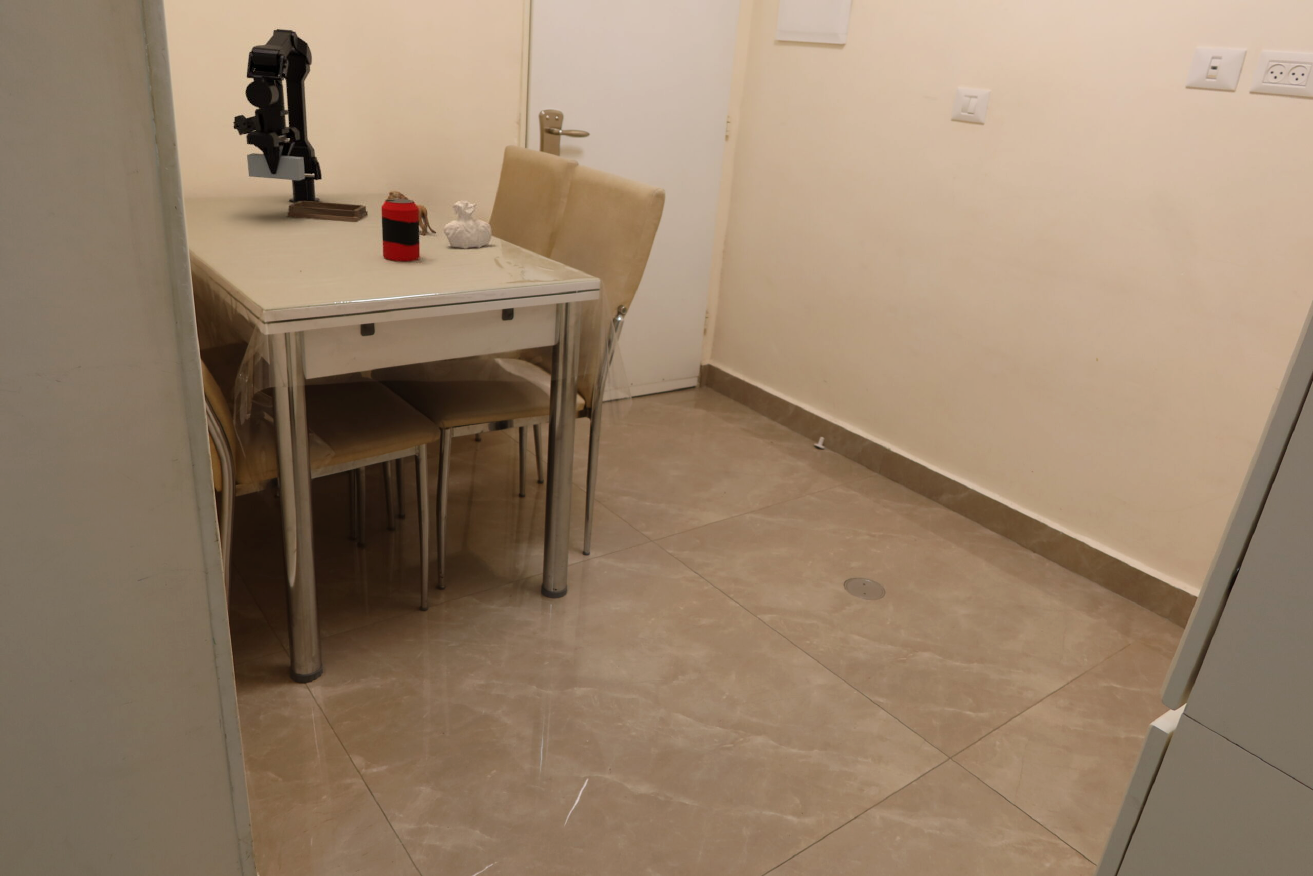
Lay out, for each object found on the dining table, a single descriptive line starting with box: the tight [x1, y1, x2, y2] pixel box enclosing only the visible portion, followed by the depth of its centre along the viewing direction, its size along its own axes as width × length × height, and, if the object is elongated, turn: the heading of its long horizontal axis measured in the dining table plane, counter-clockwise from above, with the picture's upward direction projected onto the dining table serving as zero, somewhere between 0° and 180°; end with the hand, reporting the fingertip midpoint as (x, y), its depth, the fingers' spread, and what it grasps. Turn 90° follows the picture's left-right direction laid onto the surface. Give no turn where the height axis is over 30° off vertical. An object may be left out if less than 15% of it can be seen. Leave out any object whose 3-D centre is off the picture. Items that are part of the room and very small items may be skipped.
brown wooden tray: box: [286, 201, 368, 223], centre depth 232 cm, size 11×17×2 cm, turn 92°
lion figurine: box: [384, 190, 437, 236], centre depth 221 cm, size 15×5×9 cm, turn 63°
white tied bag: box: [443, 199, 492, 250], centre depth 210 cm, size 12×8×11 cm
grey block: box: [246, 152, 306, 181], centre depth 220 cm, size 4×12×5 cm, turn 91°
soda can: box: [380, 198, 421, 262], centre depth 192 cm, size 8×8×12 cm
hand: (276, 172), depth 221 cm, fingers closed on grey block, 4 cm apart
